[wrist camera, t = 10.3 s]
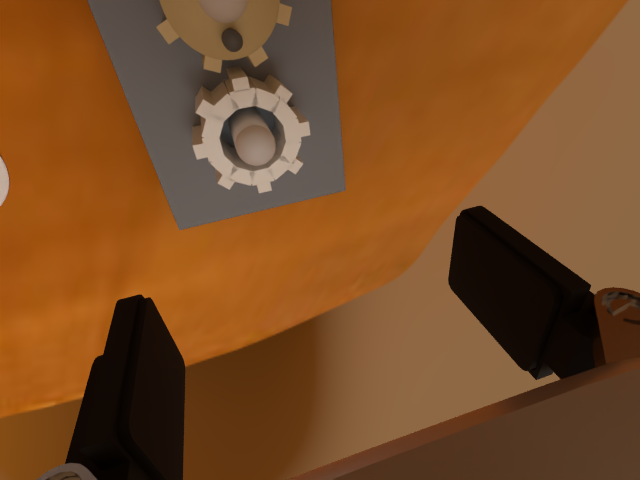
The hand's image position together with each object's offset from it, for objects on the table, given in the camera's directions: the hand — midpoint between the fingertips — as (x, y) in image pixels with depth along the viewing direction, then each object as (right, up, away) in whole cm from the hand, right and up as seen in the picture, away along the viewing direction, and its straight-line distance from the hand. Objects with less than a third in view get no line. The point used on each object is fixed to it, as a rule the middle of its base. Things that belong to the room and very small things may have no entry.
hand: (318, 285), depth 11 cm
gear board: (-6, +14, +14) cm, 20 cm away
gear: (-5, +10, +15) cm, 19 cm away
